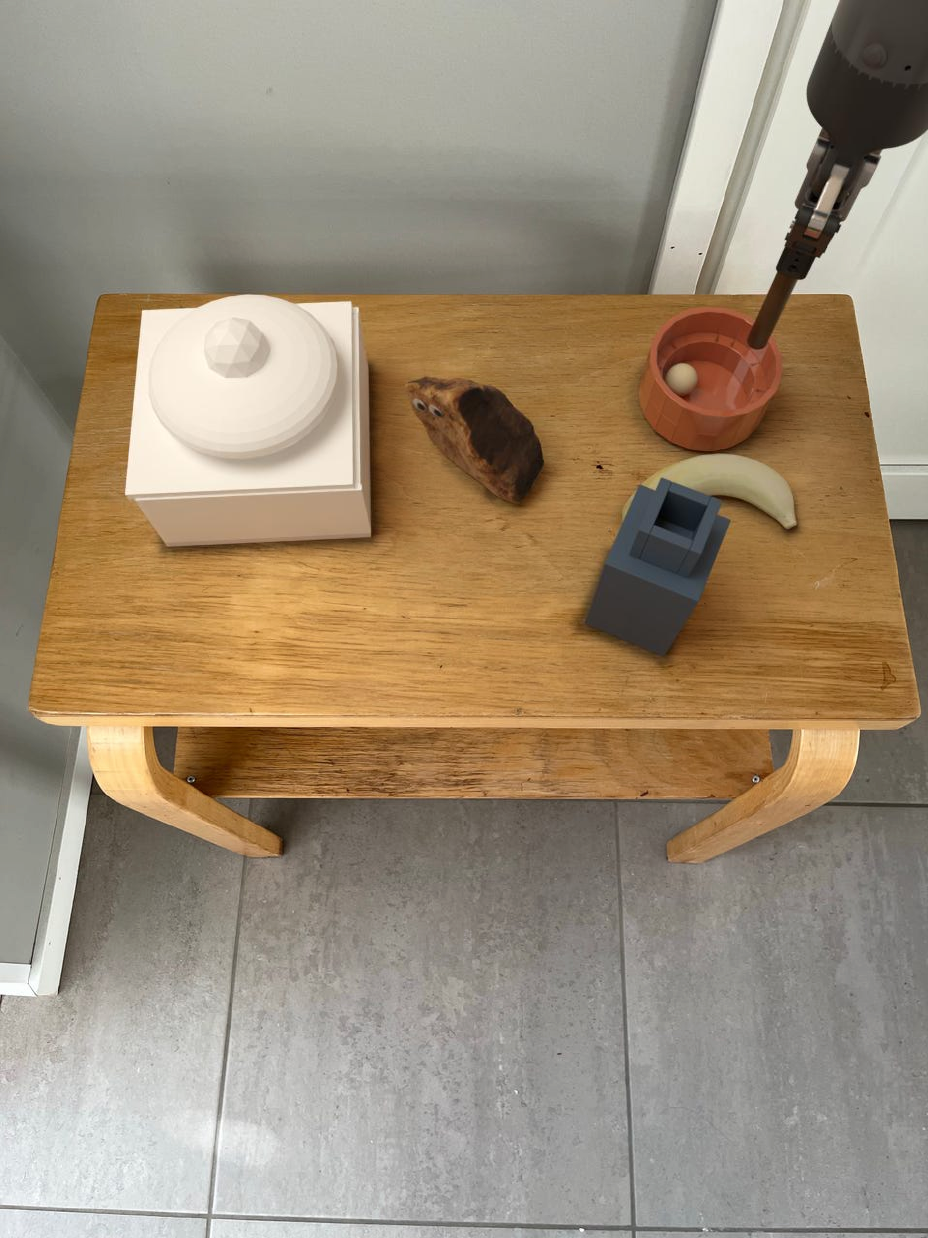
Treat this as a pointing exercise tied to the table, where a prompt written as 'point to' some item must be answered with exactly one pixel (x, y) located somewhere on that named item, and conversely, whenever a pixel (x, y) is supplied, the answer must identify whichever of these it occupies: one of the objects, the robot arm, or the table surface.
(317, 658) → the table surface
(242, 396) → the white lidded box
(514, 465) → the decorative rock
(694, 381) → the ball
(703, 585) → the holder
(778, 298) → the stick
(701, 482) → the fruit
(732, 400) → the bowl
